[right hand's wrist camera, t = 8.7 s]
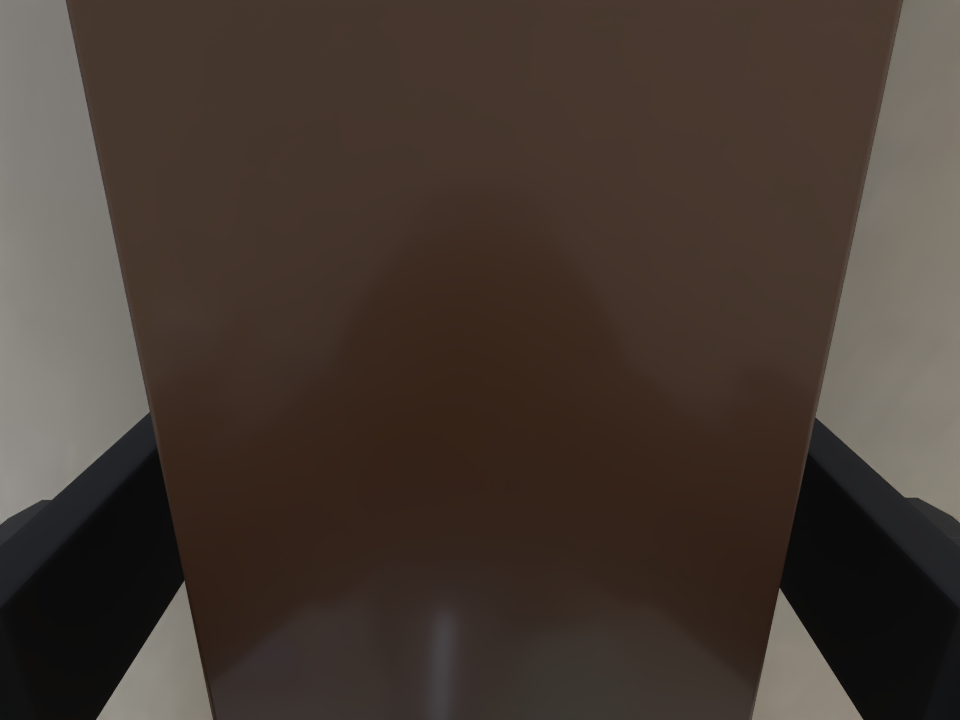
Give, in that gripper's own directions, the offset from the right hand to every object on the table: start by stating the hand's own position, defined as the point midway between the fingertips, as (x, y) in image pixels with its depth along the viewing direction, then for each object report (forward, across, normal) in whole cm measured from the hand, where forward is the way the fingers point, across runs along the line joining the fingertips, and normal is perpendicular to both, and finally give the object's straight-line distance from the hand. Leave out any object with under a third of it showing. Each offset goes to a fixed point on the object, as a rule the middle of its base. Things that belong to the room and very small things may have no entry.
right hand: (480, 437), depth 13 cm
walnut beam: (0, 0, -11) cm, 11 cm away
